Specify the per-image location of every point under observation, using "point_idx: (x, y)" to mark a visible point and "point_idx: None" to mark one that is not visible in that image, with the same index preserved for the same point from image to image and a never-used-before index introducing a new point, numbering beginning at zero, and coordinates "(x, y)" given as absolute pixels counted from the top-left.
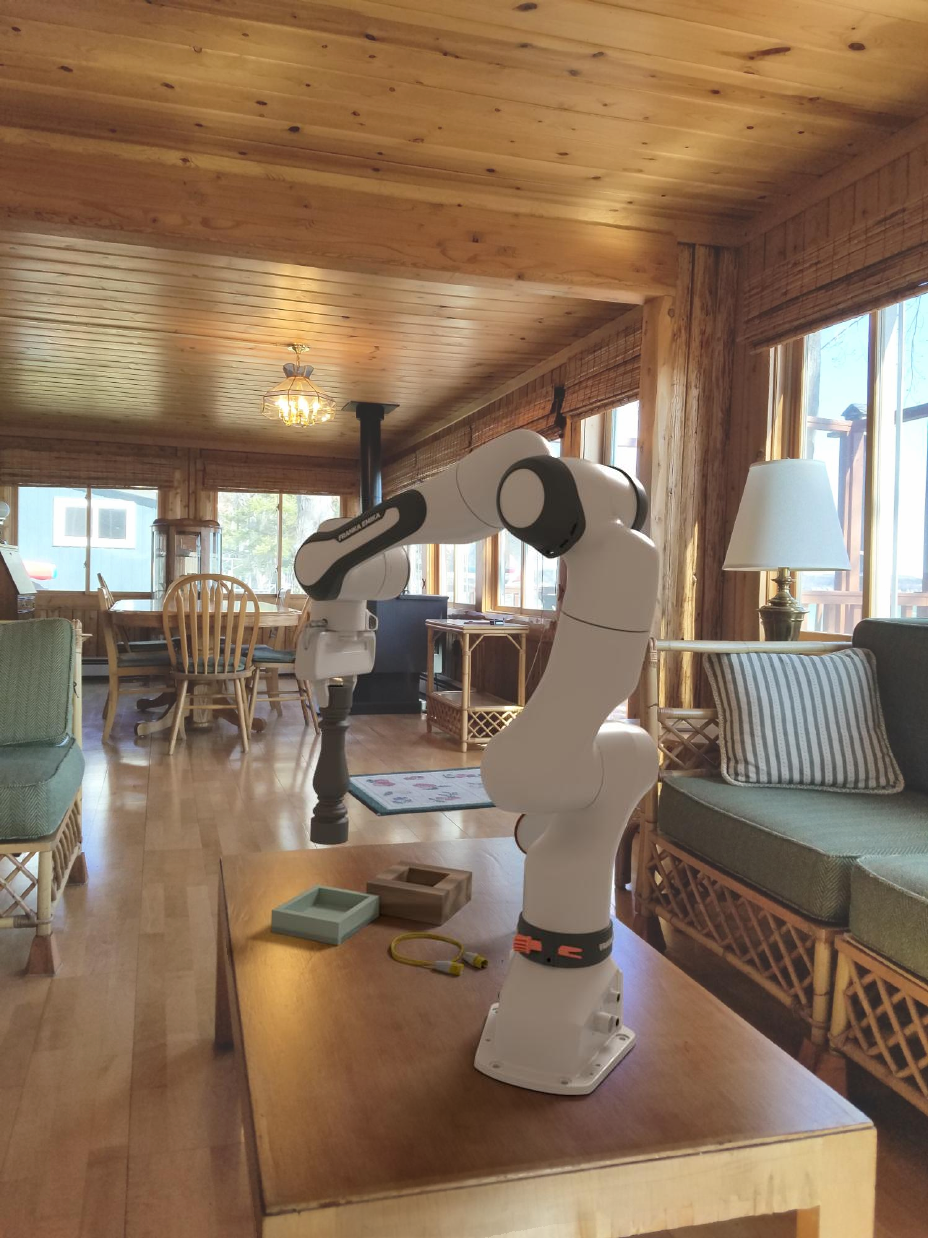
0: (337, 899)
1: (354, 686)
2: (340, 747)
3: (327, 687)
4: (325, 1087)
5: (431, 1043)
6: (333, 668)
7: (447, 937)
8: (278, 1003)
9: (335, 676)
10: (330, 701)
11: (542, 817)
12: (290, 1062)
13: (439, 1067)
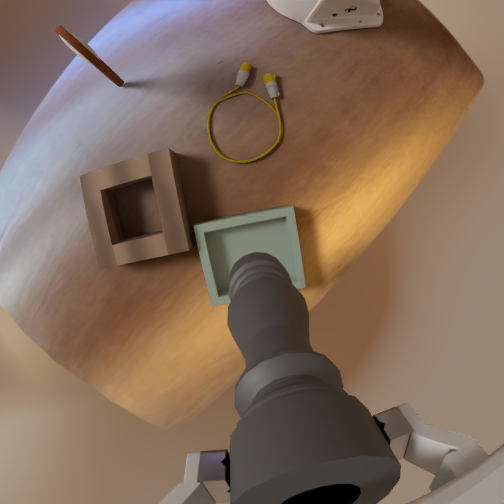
0: (213, 271)
1: (168, 499)
2: (286, 330)
3: (450, 445)
4: (441, 91)
5: (376, 54)
6: (497, 495)
7: (208, 123)
8: (400, 173)
9: (451, 485)
10: (388, 422)
11: (73, 33)
12: (439, 121)
13: (392, 43)
